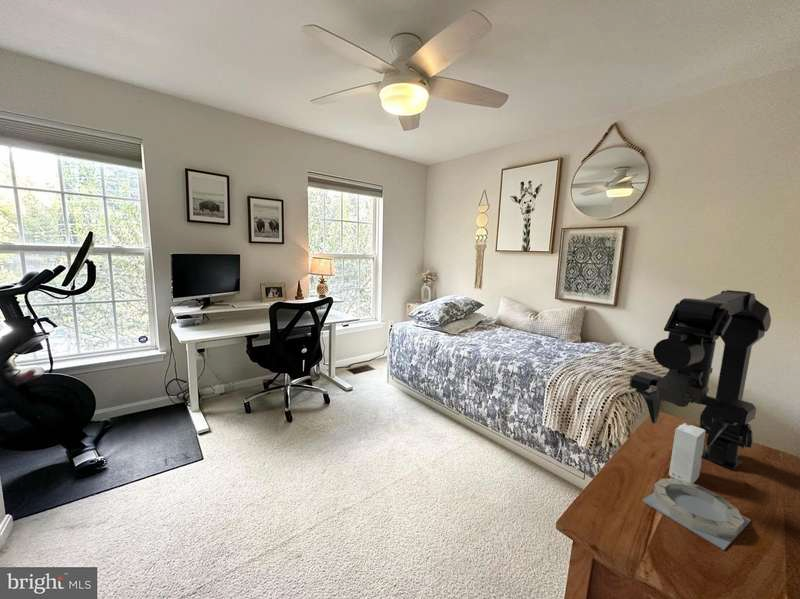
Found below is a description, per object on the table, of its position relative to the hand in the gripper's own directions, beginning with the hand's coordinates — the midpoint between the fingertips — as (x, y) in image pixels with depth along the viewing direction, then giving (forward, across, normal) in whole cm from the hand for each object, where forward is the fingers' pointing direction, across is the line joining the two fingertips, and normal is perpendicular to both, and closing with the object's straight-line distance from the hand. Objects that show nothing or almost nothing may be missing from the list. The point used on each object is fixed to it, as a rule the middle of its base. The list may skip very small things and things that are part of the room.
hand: (679, 433), depth 68 cm
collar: (+16, +4, +1) cm, 16 cm away
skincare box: (+16, -2, +13) cm, 20 cm away
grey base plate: (+16, +4, +1) cm, 16 cm away
